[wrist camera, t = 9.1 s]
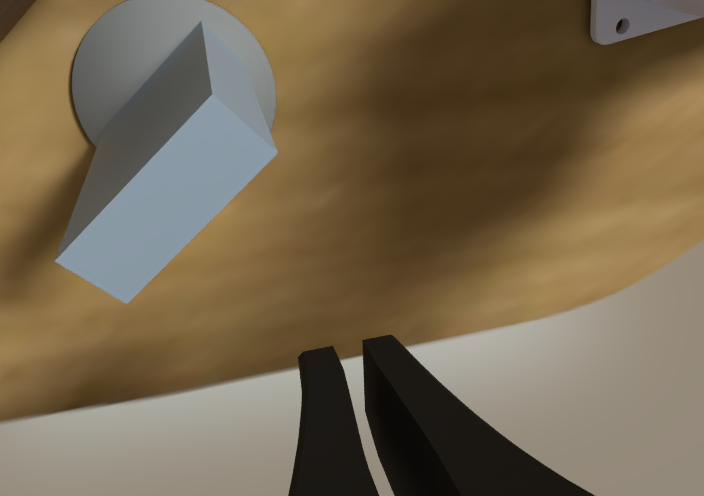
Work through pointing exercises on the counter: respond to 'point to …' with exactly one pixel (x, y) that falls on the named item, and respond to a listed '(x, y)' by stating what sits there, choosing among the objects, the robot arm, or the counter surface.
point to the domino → (11, 14)
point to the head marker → (154, 55)
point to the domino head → (166, 166)
